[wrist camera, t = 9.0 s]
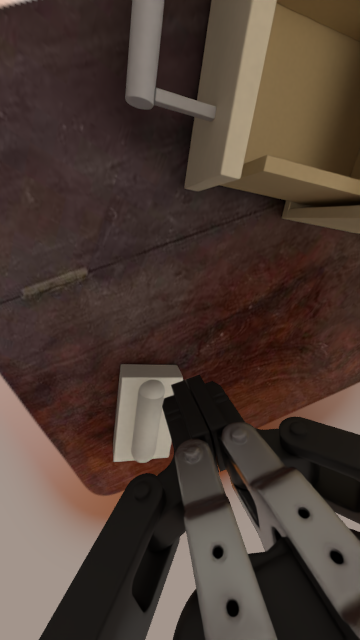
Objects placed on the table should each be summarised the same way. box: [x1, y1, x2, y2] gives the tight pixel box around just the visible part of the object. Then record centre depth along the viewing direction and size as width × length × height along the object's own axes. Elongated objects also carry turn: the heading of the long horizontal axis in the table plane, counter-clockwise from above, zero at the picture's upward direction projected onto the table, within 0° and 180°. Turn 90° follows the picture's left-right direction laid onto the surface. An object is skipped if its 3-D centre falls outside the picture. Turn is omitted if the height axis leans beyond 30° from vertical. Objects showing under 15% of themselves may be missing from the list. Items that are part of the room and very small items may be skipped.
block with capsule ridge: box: [113, 364, 183, 463], centre depth 26 cm, size 10×6×4 cm, turn 171°
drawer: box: [125, 0, 360, 207], centre depth 16 cm, size 19×13×7 cm, turn 81°
